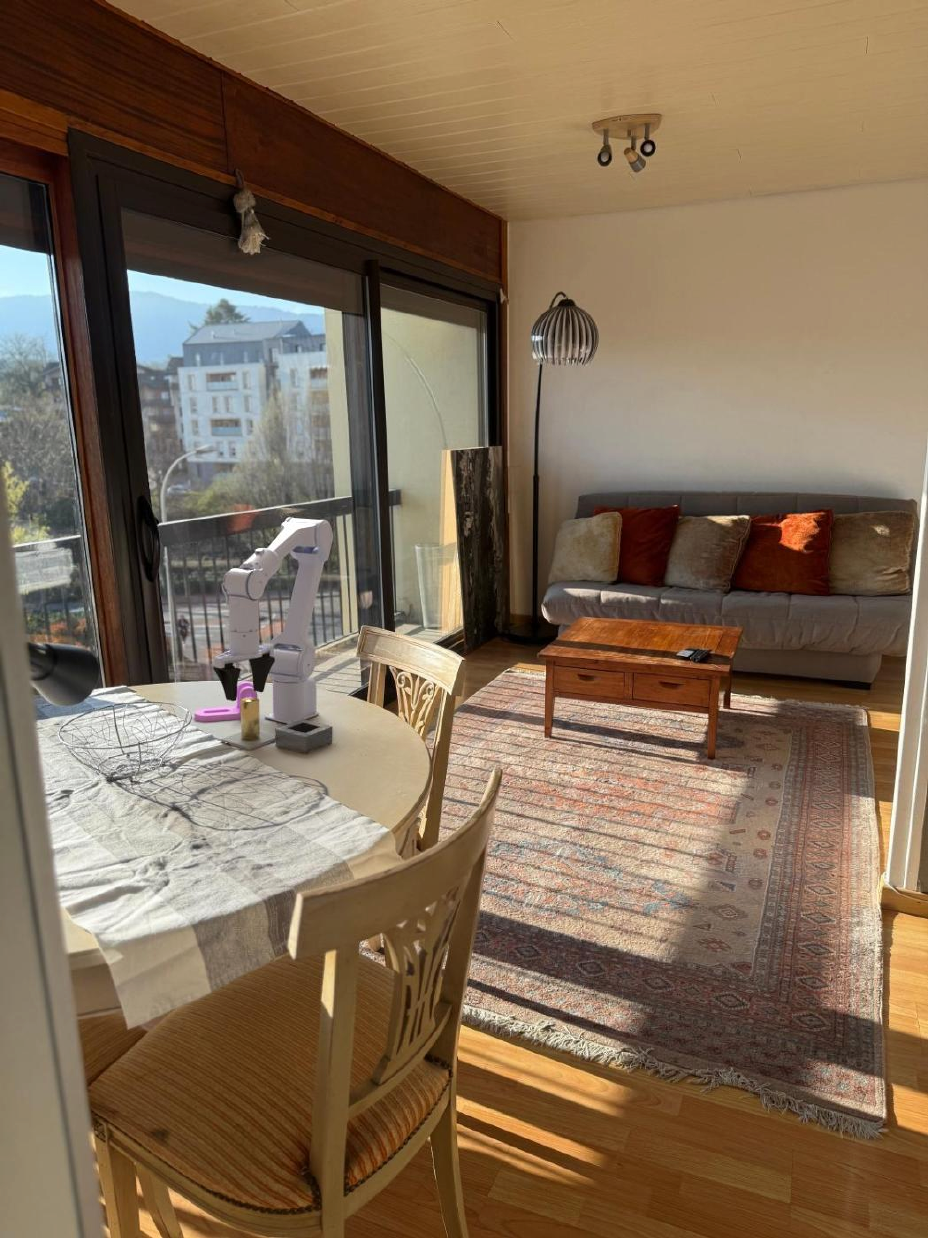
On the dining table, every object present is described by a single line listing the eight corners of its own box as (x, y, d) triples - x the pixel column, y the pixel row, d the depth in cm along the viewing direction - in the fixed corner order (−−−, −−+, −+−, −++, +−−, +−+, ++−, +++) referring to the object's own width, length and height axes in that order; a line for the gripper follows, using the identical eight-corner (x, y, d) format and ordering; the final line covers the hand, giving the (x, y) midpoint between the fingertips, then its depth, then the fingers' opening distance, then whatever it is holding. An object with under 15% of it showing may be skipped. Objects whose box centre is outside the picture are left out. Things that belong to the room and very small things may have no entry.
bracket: (254, 710, 196) (253, 680, 195) (257, 718, 191) (257, 687, 190) (193, 715, 191) (193, 684, 190) (196, 723, 186) (195, 691, 185)
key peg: (249, 733, 178) (248, 696, 177) (263, 737, 177) (262, 699, 175) (237, 739, 175) (236, 701, 173) (251, 742, 174) (251, 704, 172)
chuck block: (302, 735, 181) (302, 718, 180) (332, 742, 177) (332, 726, 176) (275, 745, 174) (275, 728, 173) (305, 754, 170) (305, 737, 169)
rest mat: (250, 731, 182) (250, 728, 181) (278, 739, 177) (278, 736, 177) (220, 742, 175) (220, 739, 175) (249, 750, 171) (249, 747, 171)
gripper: (231, 638, 164) (232, 707, 166) (284, 626, 176) (285, 690, 179) (205, 633, 167) (206, 701, 170) (259, 621, 179) (259, 685, 182)
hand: (245, 695), depth 175 cm, fingers open, 7 cm apart
